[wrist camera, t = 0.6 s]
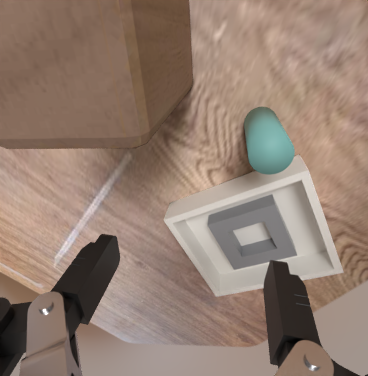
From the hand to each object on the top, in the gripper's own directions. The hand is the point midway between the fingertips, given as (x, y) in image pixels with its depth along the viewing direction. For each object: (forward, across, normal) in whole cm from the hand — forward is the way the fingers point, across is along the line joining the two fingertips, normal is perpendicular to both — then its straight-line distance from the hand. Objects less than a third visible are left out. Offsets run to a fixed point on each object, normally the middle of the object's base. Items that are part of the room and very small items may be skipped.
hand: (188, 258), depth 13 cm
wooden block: (+23, +9, -9) cm, 26 cm away
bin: (+23, -7, +16) cm, 29 cm away
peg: (+23, -5, 0) cm, 24 cm away
